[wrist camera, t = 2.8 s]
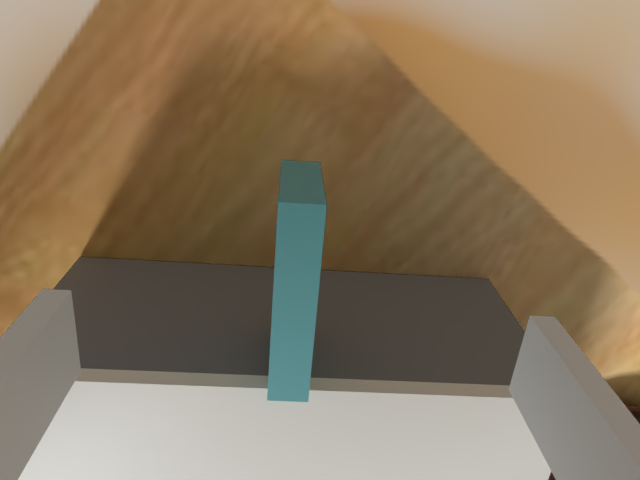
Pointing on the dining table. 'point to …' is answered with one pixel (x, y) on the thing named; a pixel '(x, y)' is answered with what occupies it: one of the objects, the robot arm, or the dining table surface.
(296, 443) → the carton lid
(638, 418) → the robot arm
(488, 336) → the carton
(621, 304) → the dining table surface
